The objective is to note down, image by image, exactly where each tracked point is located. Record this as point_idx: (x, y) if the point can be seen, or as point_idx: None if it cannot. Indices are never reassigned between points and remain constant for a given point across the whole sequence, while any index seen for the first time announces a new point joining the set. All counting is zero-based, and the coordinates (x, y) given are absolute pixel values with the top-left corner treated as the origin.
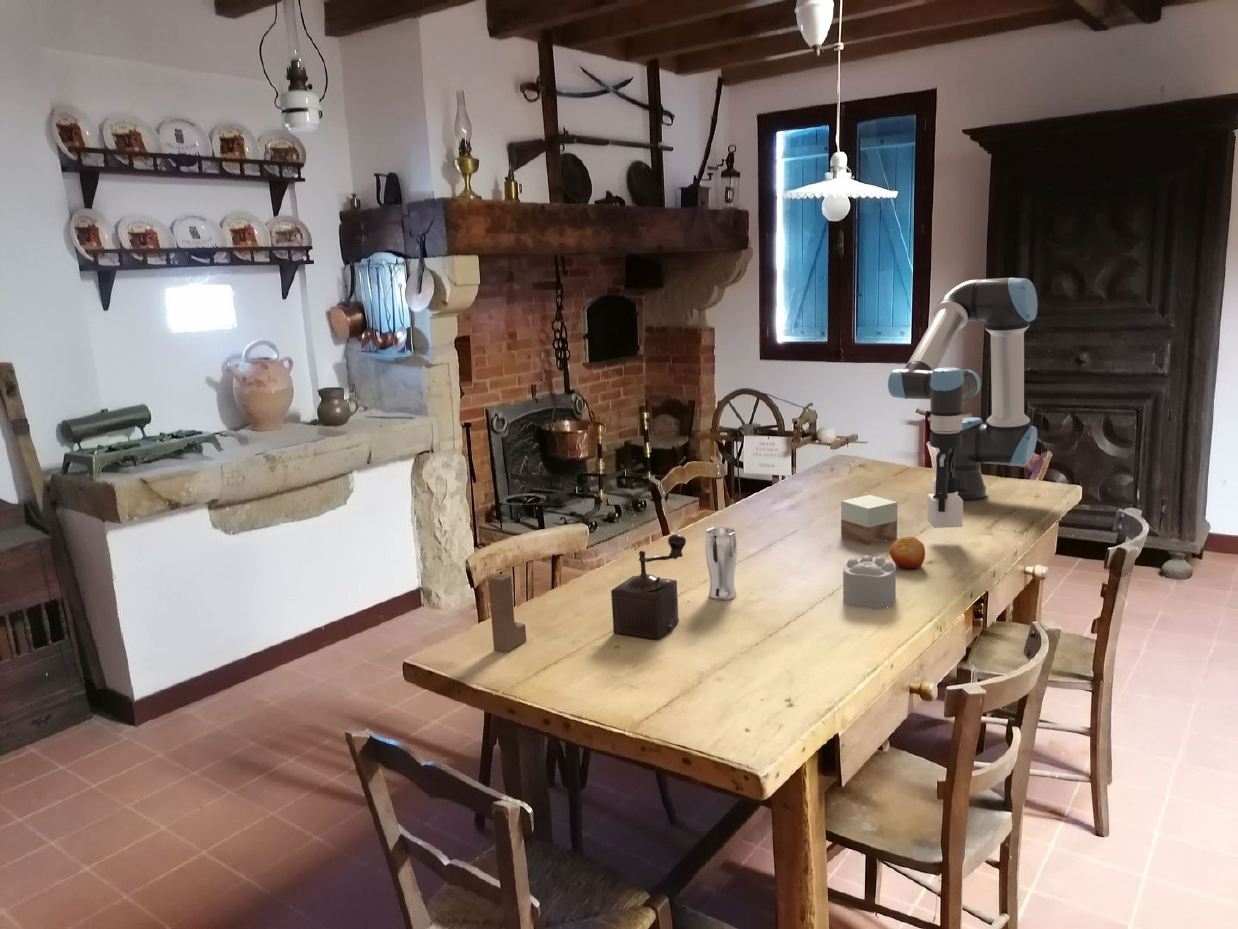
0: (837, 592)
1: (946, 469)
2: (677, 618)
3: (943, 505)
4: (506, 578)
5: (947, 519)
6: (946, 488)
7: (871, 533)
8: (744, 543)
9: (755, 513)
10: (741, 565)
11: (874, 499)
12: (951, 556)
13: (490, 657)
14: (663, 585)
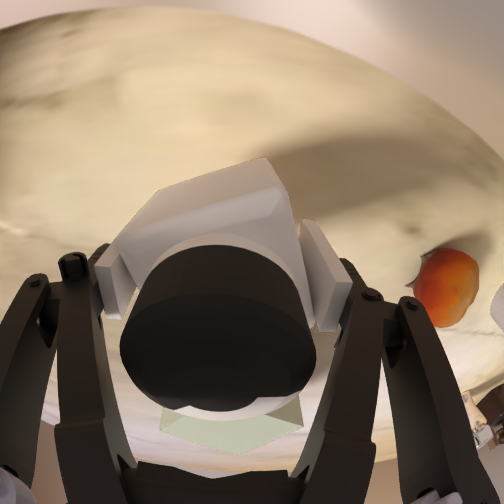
0: (490, 330)
1: (473, 449)
2: (493, 392)
3: (360, 280)
4: (497, 444)
5: (319, 228)
6: (418, 335)
7: None
8: (298, 446)
9: (158, 450)
10: (384, 425)
11: (203, 427)
12: (369, 179)
13: None
14: None
